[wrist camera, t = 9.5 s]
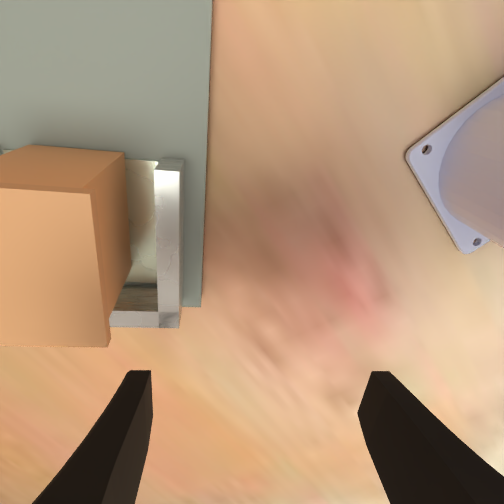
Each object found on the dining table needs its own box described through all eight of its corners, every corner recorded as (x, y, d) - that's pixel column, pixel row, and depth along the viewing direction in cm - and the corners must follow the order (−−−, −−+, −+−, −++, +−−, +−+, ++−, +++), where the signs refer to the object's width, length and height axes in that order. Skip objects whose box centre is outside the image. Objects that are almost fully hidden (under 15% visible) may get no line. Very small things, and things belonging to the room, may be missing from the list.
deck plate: (-90, -80, 12) (-119, -93, 11) (214, -34, 14) (213, -43, 13) (8, 289, 20) (-4, 301, 19) (201, 295, 21) (200, 307, 20)
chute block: (19, 143, 15) (-91, 181, 10) (133, 153, 16) (89, 194, 10) (42, 263, 18) (-33, 345, 12) (139, 267, 18) (107, 347, 13)
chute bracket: (-26, 141, 15) (-68, 153, 13) (184, 158, 16) (179, 171, 14) (13, 294, 19) (-14, 324, 16) (183, 299, 20) (178, 328, 17)
